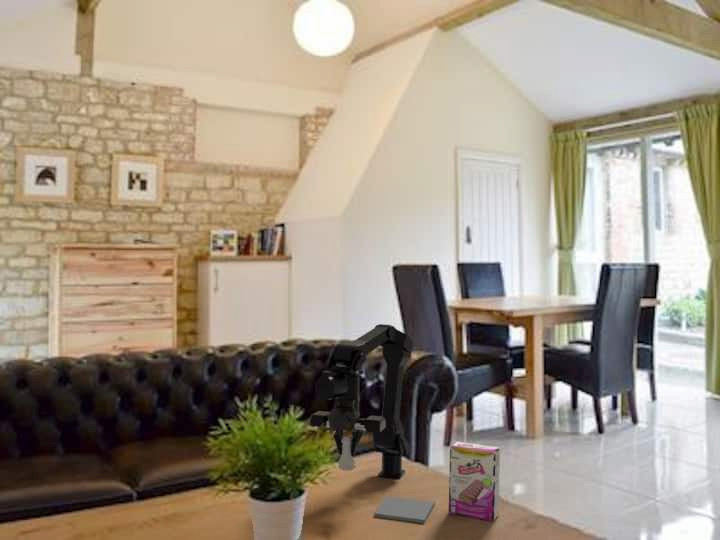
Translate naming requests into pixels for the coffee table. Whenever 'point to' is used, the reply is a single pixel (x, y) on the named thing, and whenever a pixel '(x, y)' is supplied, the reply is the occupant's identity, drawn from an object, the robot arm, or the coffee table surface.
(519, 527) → the coffee table surface
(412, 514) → the gray mat
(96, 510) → the coffee table surface
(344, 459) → the rook chess piece
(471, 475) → the candy bar box
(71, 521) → the coffee table surface
